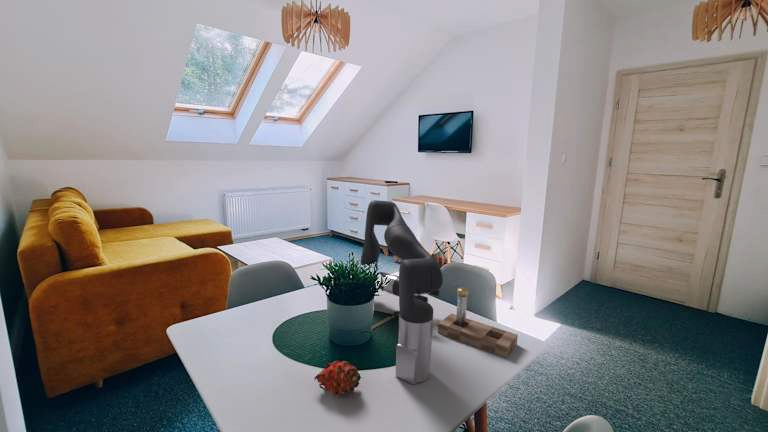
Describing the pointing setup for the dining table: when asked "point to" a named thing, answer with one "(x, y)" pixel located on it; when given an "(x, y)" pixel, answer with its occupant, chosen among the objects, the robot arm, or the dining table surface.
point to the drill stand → (479, 335)
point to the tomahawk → (385, 320)
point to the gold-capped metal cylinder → (461, 306)
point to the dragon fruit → (339, 377)
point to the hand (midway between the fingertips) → (433, 296)
